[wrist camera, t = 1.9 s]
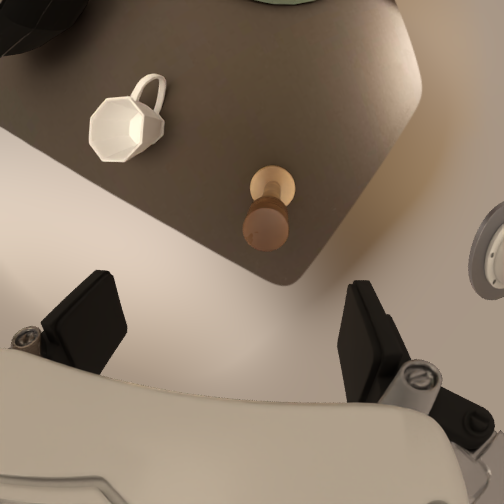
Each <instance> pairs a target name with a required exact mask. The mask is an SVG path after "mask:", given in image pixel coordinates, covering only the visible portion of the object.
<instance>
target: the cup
mask: <svg viewBox="0 0 504 504" xmlns="http://www.w3.org/2000/svg"><path fill="white" fill-rule="evenodd" d="M153 79H159V91H158V97H157V101H156V105H155V108H154V110H152V109H151V108H150V107H148V106H147V105H145V104H143V103H141V102H139V98H140V96H141V93H142V91H143V88H144V87H145V86H146V84H148V83H149V82H150V81H152V80H153ZM165 90H166V79H165V78H164V77H163V76H161V75H158V74H149V75H146V76H145V77H144V78H142V79H141V80H140V81H139V82H138V84H137V85H136V87H135V89H134V90H133V92H132V94H131V97H116V98H106V99H105V101H104V102H103V103H102V104H101V105H100V106H99V108H98V109H97V110H96V111H95V113H94V114H93V115H92V116H91V117H90V130H89V144H90V145H91V147H92V148H93V149H94V151H95V152H96V153H97V155H98V156H99V157H100V159H101V160H102V161H107V162H125V161H127V160H129V159H131V158H132V157H134V156H135V155H137V154H139V153H141V152H143V151H144V150H145V149H147V148H148V147H149V146H150V145H151V144H155V143H156V142H157V141H158V140H159V139H160V138H161V137H162V136H163V135H164V125H165V121H164V120H163V118H162V117H161V116H160V115H159V112H160V110H161V108H162V104H163V101H164V96H165Z"/></svg>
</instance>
